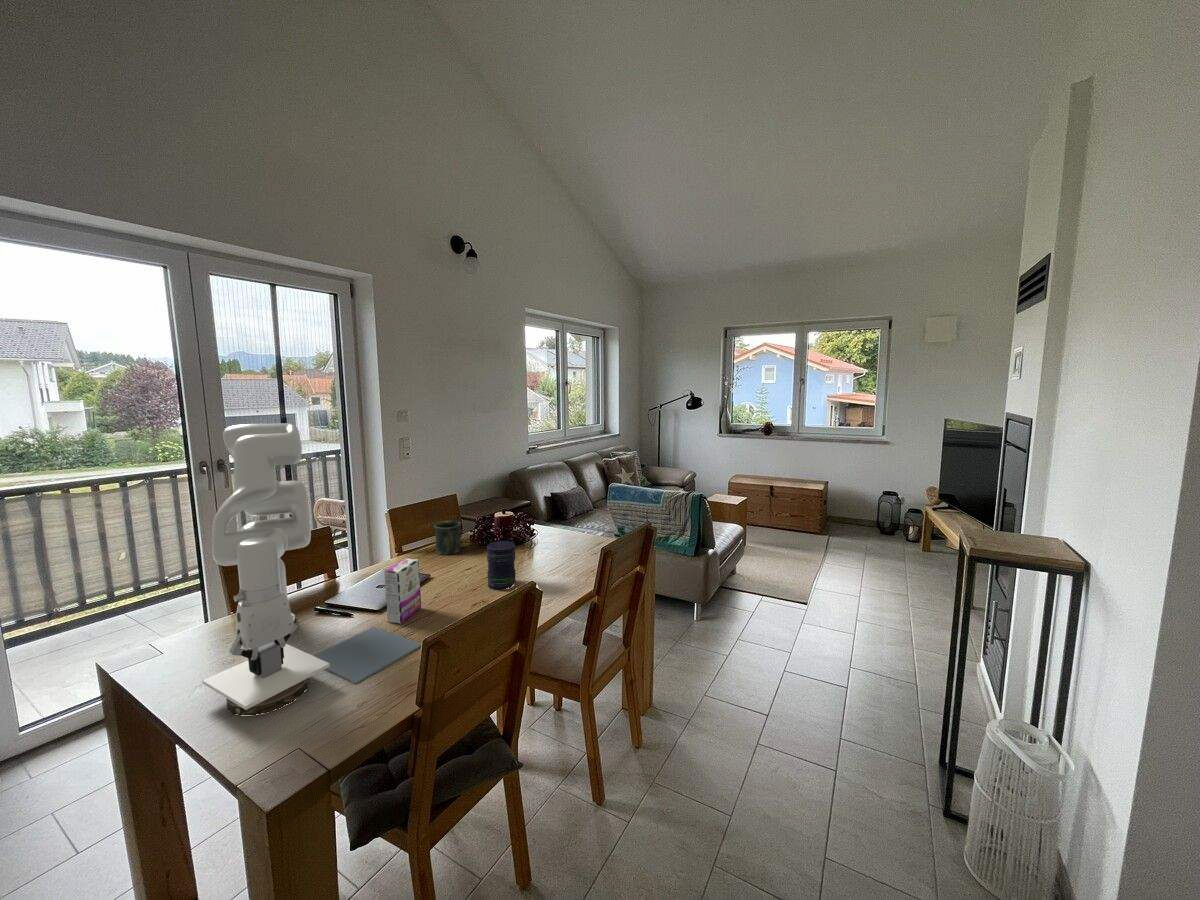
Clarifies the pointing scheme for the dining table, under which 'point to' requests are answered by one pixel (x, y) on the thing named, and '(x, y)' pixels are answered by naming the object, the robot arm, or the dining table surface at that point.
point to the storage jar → (501, 564)
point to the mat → (366, 653)
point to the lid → (265, 675)
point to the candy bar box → (402, 590)
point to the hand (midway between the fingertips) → (267, 667)
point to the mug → (448, 537)
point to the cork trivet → (271, 700)
